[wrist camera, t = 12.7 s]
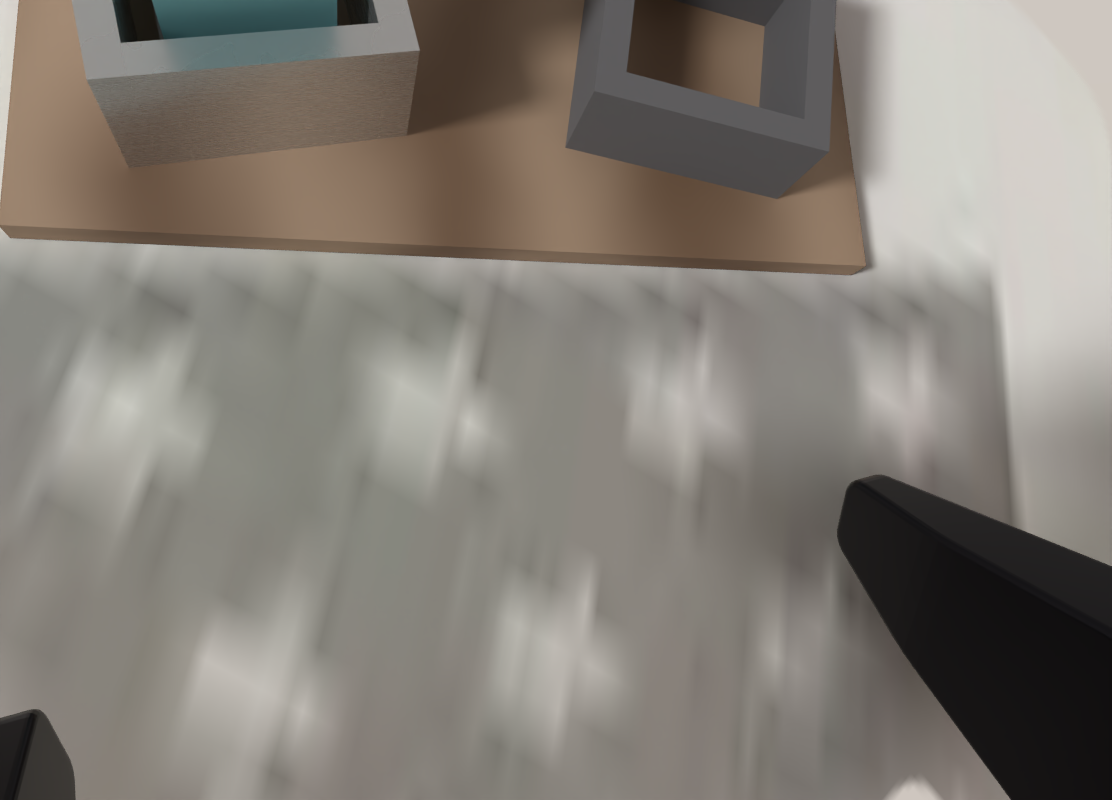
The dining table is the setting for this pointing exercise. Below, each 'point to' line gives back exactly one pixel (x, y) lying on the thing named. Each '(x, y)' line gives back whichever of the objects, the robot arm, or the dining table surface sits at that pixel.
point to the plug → (240, 16)
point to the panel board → (437, 156)
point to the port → (249, 83)
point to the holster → (710, 100)
